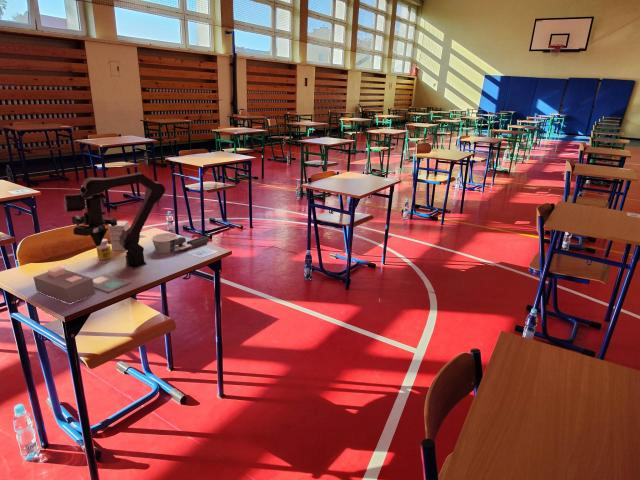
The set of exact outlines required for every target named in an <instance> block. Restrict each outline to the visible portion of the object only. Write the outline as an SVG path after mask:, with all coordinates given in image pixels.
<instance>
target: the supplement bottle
mask: <svg viewBox="0 0 640 480" xmlns="http://www.w3.org/2000/svg"><path fill="white" fill-rule="evenodd" d="M111 252H112V251H111V244H109V243H108V239H107V238H103V240H102V242H101V244H100V246H96V254H97V259H98V261H99V263H108V262H111V261H112V259H113V257H112V253H111Z"/></svg>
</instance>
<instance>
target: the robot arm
mask: <svg viewBox="0 0 640 480" xmlns="http://www.w3.org/2000/svg"><path fill="white" fill-rule="evenodd" d="M134 184H135V185H136V184H140V185H142V187H145V191H144V199H143V201H142V203H141V205H140V207H139V209H138V211H137V213H136V215H135V217H134V218H133V220H132V223H131V225H129V229H128V230H127V231H125V230H123V231H122V234H121V236H120V237H119V238H120V240H119V243H120V245H121V246H122V247H123V248H124V249H125V250H124V251H125V253H126V254H125V256H124V257H125V262H126V263H125V264H126V265H127V266H128V267H130V268H133V269H134V268H137V267H141V266H145V265H147V262H146V261H145V257H144V256H145V255H144V251H145V248H144V247H143V246H142V245H141V244H139V243H140V236H141V231H142V230H143V227H144V225H145V224H146V221H147V220H148V218H149V216H150V213H151V212H152V210H153V208H154V206H155V205H156V203H157V202H158V201H160V200H161V199H162V197H163V196H164V194H165V192H166V187H165V185H164V184H162V183H161V182H157V181H154V180H152V179H150V178H149V177H147V176H146V175H145V174H144V173H141V172H135V173H129V174H123V175H118V176H112V177H111V176H110V177H86V178H85V179H84V180H83V182H82V186H81V188H80V189H79V190H78V192H77V193H75V194H74V193H73V194H68V193H67V194H63V202H62V203H63V204H62V205H63V208H64V211H65V213H70V212H71V213H73V212H82V211H83V210H86V211H84V213H83V215H82V216H80V215H74V216H71V223H72V224H73V225H76V226H75V227H74V228H72V229H73V235H77V236H81V237H82V236H83V237H88V236H90V238H91V239H92V241H93V242H94V245H95V247H97V246H100V244H101V242H102V240H103V239H105V238H104V237H105V236H106V234H107V232H108V231H109V228H108V227H106V226H107V225H108V226H109V225H110V224H111V226H115V225H117V221H118V220H117V219H116V218H114V217H107V216H104V215H106V211H104V210H103V199H108V196H107V195H105V193H104V192H105V191H107V190H108V191H109V190H110V189H113V188H118V187H123V186H128V185H134ZM85 208H86V209H85Z"/></svg>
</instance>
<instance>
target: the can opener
mask: <svg viewBox="0 0 640 480" xmlns="http://www.w3.org/2000/svg"><path fill="white" fill-rule="evenodd" d="M209 242H210V238H209V236H205V235H203V236H199V237H196V238H193V239H190V240H188V241H187V239H186V237H184V236H180V237H177V238H176V240H175V241H174V245H176V247H175V248H176V249H175V250H179V251H180V250H185V249H188V248H191V249H195V248H196V247H199V246H202V245H205V243H206V244H208V243H209Z"/></svg>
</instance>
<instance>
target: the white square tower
mask: <svg viewBox="0 0 640 480" xmlns="http://www.w3.org/2000/svg"><path fill="white" fill-rule="evenodd" d="M107 228H108V232H109V234H108V235H109V240H110V247H111V249H112V251H126V250H125V249H124V248H123V247H122V246H121V245H120V243H119V240H120V238H119V237H120V236H121V234H122V231H123V230H125V231H127V230H128V229H129V228H130V223H129V221H128V220H119V221H118V220H117V225H115V226H111V224H108V226H107Z"/></svg>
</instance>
